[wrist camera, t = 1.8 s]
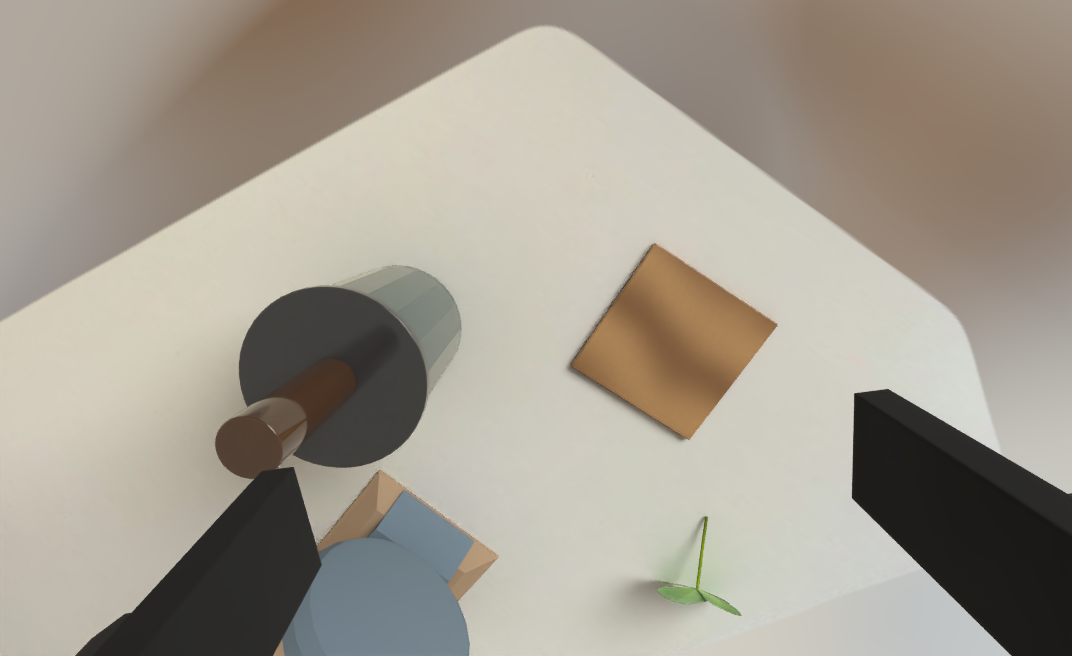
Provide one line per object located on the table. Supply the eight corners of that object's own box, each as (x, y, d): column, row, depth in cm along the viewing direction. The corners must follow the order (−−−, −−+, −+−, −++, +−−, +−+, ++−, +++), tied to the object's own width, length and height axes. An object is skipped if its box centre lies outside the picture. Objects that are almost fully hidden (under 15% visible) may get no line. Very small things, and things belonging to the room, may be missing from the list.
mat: (654, 242, 39) (655, 243, 38) (775, 323, 40) (778, 324, 40) (570, 364, 41) (571, 366, 41) (687, 437, 42) (689, 440, 42)
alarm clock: (304, 543, 46) (152, 750, 28) (370, 462, 44) (250, 632, 26) (438, 636, 47) (372, 885, 30) (507, 562, 45) (479, 783, 28)
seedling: (686, 516, 49) (676, 593, 47) (645, 501, 44) (631, 587, 42) (767, 532, 44) (760, 618, 42) (732, 518, 39) (721, 616, 37)
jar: (377, 241, 40) (299, 258, 27) (483, 308, 40) (453, 353, 28) (320, 343, 41) (223, 400, 29) (423, 404, 42) (371, 485, 30)
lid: (301, 246, 28) (182, 266, 19) (466, 348, 29) (427, 413, 20) (220, 398, 30) (78, 481, 21) (377, 489, 31) (305, 605, 22)
